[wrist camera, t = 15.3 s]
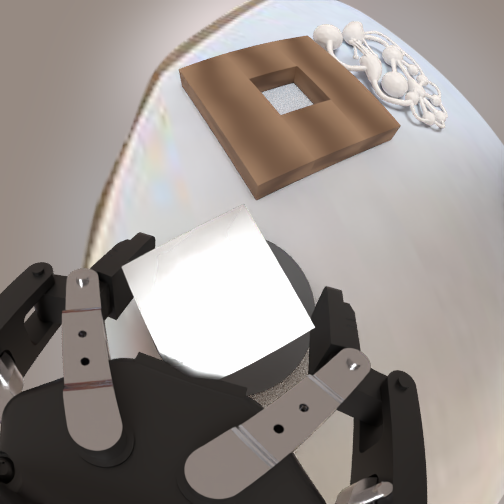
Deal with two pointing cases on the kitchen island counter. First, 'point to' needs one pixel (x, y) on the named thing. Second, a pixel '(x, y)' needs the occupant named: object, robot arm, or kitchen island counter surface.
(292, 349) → the rubber pad
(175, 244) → the steel peg
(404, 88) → the tangled rod sculpture
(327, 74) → the socket block
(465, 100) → the kitchen island counter surface
